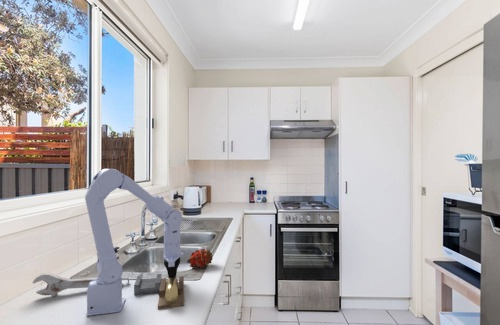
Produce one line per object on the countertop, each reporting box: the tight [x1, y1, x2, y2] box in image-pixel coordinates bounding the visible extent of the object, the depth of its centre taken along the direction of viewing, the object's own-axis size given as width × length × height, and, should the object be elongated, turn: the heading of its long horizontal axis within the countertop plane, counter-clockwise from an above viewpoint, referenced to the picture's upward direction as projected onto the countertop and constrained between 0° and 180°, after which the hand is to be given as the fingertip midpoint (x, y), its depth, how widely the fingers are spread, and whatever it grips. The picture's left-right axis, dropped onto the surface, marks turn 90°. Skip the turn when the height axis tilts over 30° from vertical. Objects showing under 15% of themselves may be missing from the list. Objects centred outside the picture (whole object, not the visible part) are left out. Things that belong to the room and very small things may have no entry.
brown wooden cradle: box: [157, 276, 185, 310], centre depth 94 cm, size 8×16×3 cm, turn 14°
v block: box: [133, 273, 162, 296], centre depth 99 cm, size 8×8×4 cm
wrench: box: [32, 272, 130, 298], centre depth 98 cm, size 8×2×30 cm
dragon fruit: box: [186, 247, 214, 269], centre depth 119 cm, size 8×8×12 cm
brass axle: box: [165, 276, 179, 305], centre depth 92 cm, size 12×4×4 cm, turn 15°
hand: (172, 279), depth 99 cm, fingers closed
